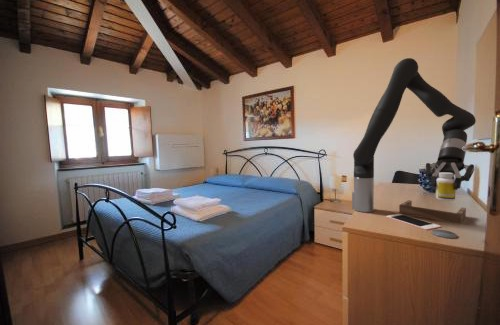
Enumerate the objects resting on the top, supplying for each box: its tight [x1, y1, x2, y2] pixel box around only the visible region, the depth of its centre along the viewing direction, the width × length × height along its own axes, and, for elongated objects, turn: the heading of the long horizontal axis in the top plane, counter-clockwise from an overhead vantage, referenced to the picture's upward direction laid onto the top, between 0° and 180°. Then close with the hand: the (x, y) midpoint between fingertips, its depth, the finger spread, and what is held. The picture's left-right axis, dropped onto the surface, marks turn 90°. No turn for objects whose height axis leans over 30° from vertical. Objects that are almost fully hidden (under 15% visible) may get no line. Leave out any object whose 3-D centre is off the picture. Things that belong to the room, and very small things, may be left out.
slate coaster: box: [431, 229, 458, 240], centre depth 83 cm, size 7×7×1 cm
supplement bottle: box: [435, 172, 456, 202], centre depth 82 cm, size 5×5×10 cm
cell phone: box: [385, 213, 442, 231], centre depth 97 cm, size 9×18×1 cm, turn 18°
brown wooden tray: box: [398, 199, 467, 225], centre depth 105 cm, size 14×22×4 cm, turn 39°
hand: (444, 187), depth 80 cm, fingers closed on supplement bottle, 5 cm apart
